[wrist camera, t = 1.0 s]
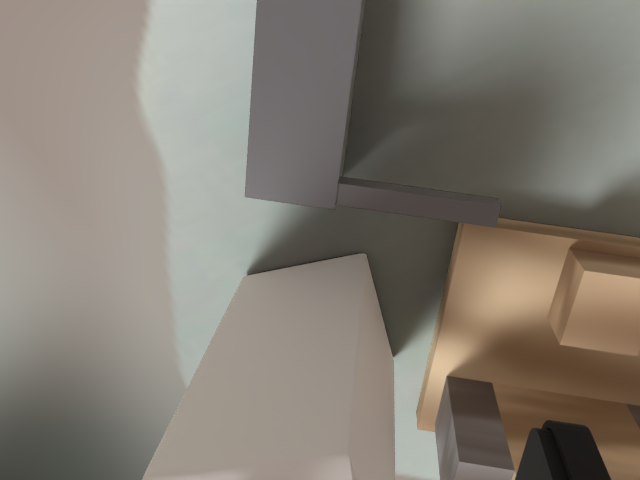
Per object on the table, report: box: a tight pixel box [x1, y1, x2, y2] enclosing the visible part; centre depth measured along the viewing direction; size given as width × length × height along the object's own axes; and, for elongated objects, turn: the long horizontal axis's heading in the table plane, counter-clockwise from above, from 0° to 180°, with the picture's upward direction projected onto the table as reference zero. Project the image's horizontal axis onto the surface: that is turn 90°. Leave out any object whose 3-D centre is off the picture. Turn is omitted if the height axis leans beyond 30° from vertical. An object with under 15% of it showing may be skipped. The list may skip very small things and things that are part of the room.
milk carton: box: [142, 253, 395, 480], centre depth 25 cm, size 7×7×19 cm
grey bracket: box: [245, 0, 501, 228], centre depth 26 cm, size 11×11×5 cm
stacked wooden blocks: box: [416, 218, 640, 480], centre depth 28 cm, size 13×14×10 cm
